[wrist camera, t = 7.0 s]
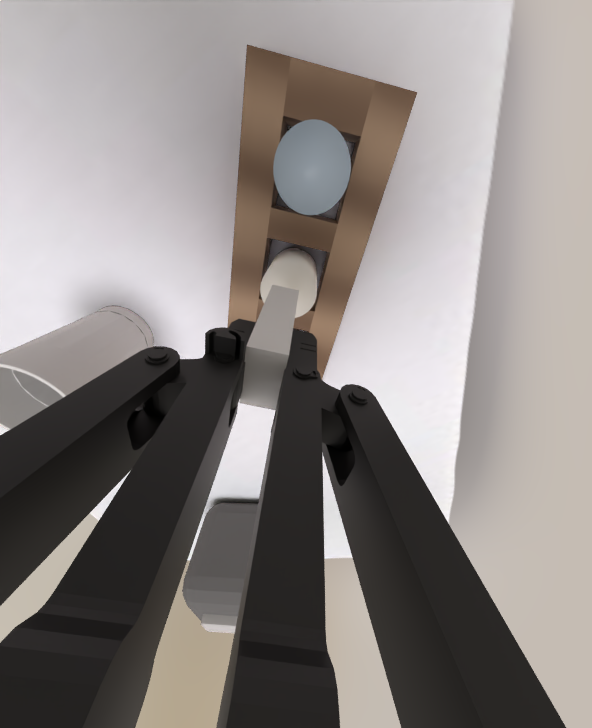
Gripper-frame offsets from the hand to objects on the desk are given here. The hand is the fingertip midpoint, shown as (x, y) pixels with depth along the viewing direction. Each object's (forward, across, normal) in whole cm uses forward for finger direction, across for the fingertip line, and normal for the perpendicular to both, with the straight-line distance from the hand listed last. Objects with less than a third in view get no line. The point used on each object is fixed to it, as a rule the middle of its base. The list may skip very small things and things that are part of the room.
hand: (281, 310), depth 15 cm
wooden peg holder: (+11, 0, 0) cm, 11 cm away
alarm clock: (+10, +2, -46) cm, 47 cm away
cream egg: (+9, 0, 0) cm, 9 cm away
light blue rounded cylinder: (+8, 0, +7) cm, 10 cm away
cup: (+11, -17, -12) cm, 23 cm away
